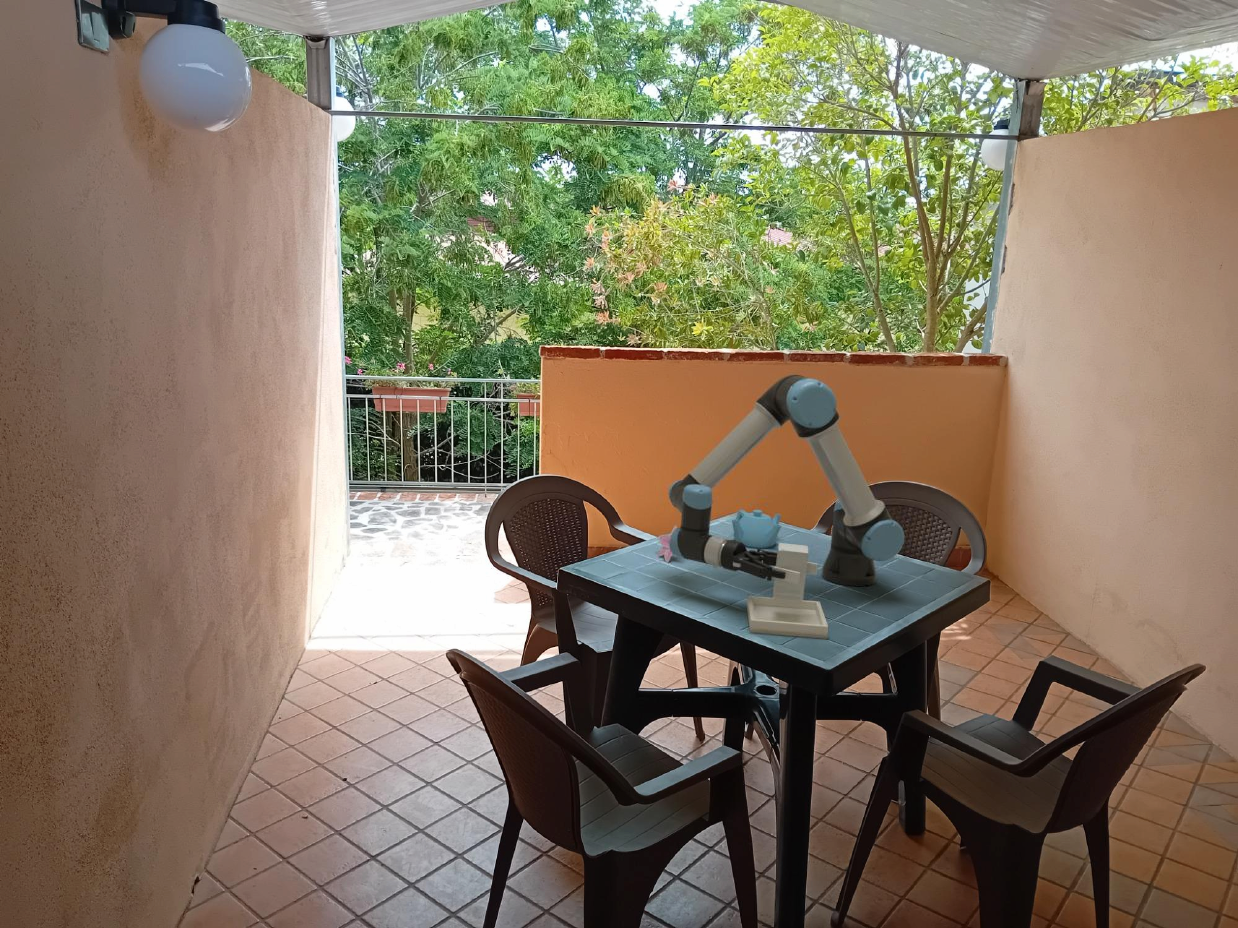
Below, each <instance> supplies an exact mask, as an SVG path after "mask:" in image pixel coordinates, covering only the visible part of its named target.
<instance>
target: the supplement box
mask: <svg viewBox="0 0 1238 928" xmlns="http://www.w3.org/2000/svg"><path fill="white" fill-rule="evenodd" d="M776 553H777V561H776V566H775V567H779V568H784V569H788V570H792V571H796V572H800V579H799V584H795V583H791V582H787V581H783V580H779V579H775V578H773V580H774V581H773V590H772V598H773V599H774V600H781V601H788V602H796V603H803V600H804V595H805V587H806V578H807V573H806V571H807V562H809V561H808V559H809V546H808V545H804V544H803V545H802V544H794V543H793V544H792V543H784V542H783V543H782V542H778V546H777V552H776Z"/></svg>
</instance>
